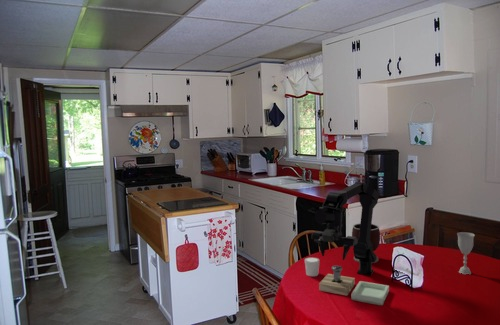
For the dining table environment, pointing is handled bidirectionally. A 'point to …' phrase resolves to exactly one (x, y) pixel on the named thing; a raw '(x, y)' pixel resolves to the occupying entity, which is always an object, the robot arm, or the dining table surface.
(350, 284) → the hole block
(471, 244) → the chalice
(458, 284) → the dining table surface
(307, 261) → the cup
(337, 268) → the pin
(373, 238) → the mate gourd
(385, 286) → the tray
